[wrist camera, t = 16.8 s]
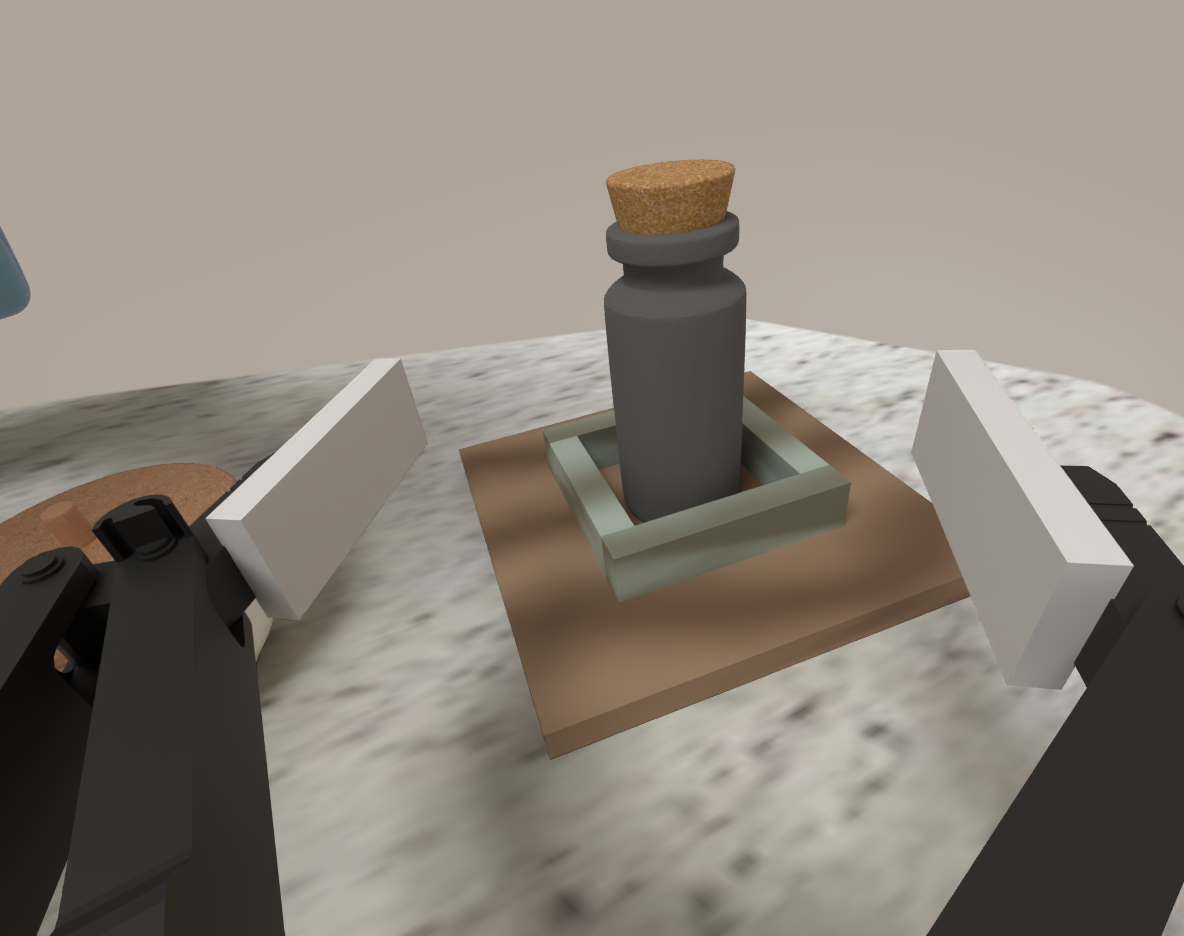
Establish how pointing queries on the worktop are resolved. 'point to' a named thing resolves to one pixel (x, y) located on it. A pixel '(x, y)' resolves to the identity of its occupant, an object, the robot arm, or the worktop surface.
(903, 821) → the worktop surface
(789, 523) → the socket board
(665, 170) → the bottle
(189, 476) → the lidded jar
